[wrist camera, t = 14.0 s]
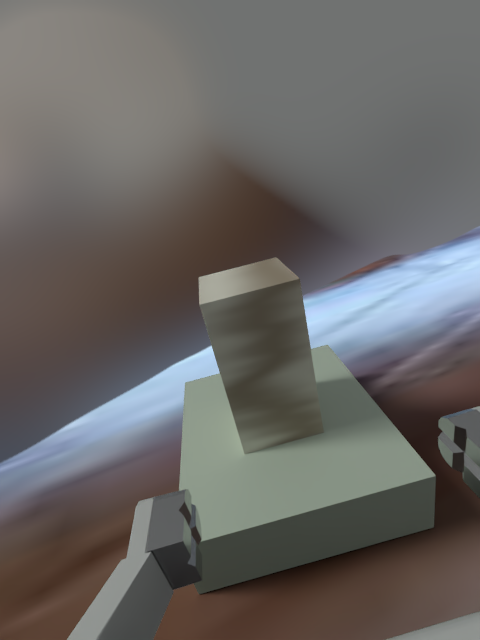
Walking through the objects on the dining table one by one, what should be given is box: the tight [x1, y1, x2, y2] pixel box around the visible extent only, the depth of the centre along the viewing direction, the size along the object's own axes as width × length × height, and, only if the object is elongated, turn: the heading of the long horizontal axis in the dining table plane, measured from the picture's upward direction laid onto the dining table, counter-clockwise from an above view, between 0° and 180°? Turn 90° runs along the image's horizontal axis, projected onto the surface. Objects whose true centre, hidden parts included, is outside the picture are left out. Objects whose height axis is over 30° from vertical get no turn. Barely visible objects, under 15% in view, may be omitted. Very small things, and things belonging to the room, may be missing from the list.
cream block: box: [199, 258, 324, 454], centre depth 20 cm, size 5×5×10 cm
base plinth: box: [179, 345, 436, 594], centre depth 23 cm, size 13×14×4 cm
